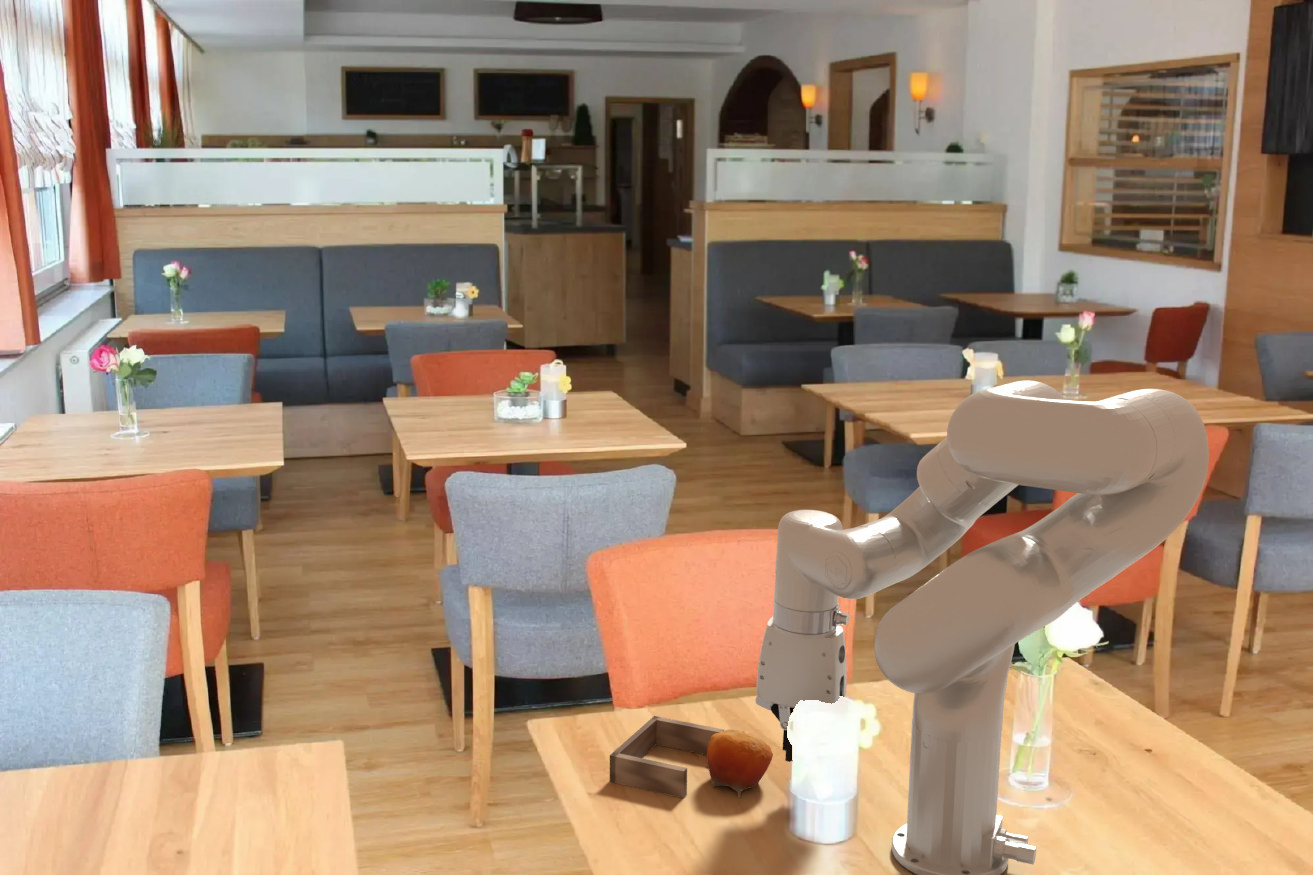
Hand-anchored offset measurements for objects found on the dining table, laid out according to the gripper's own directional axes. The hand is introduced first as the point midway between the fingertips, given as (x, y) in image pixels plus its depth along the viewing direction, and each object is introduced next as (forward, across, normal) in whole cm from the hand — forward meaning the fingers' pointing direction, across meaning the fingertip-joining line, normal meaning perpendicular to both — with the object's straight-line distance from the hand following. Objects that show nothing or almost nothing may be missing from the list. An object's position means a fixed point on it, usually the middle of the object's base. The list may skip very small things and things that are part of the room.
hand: (795, 757), depth 156 cm
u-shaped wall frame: (+5, +17, 0) cm, 17 cm away
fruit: (+5, +7, 0) cm, 9 cm away
